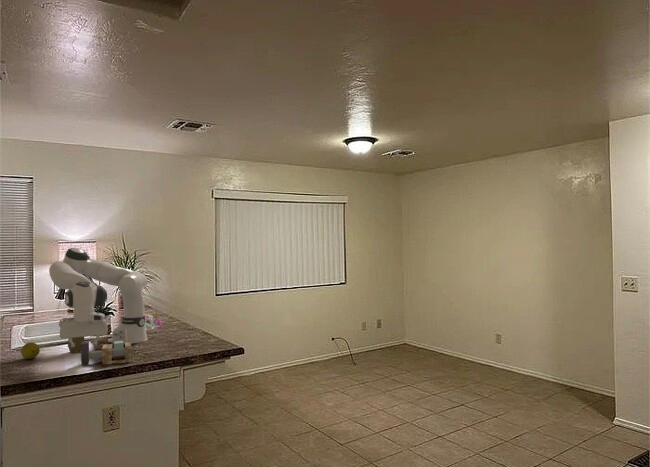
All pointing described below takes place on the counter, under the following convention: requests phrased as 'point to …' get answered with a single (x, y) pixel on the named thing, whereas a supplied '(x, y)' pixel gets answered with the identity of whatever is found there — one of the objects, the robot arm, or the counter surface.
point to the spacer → (118, 345)
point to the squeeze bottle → (76, 344)
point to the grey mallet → (96, 353)
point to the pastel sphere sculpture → (152, 321)
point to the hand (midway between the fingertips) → (84, 345)
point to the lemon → (30, 350)
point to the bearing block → (108, 356)
